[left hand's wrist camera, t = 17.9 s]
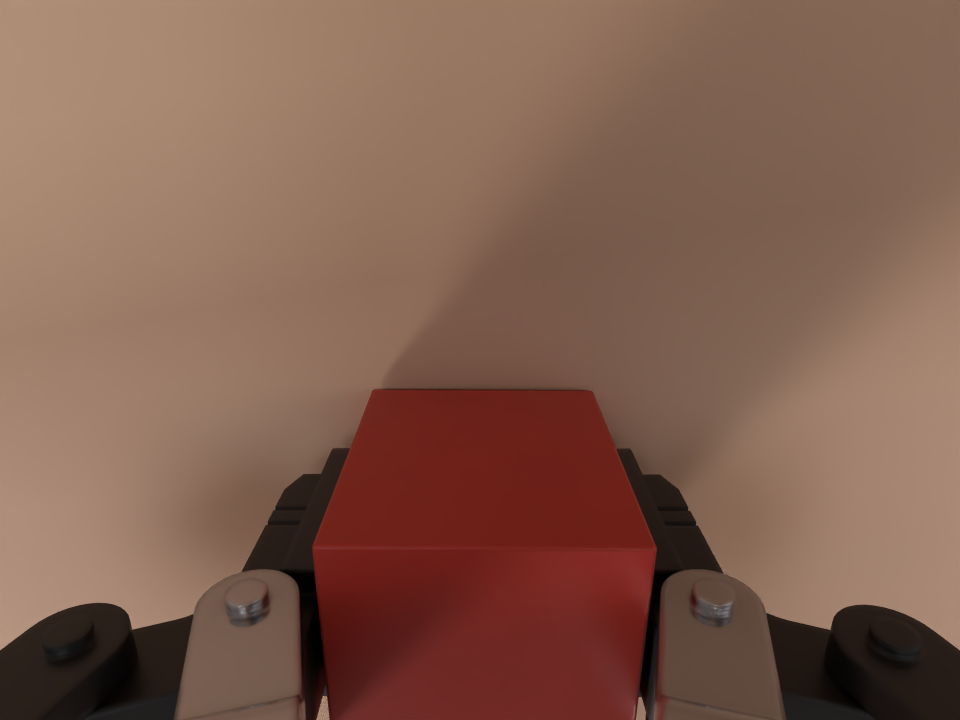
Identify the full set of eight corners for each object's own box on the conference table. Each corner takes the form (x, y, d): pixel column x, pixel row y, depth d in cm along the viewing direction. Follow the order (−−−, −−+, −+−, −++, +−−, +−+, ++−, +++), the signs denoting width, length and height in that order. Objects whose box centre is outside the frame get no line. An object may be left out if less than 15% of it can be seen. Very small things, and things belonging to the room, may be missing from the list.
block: (593, 389, 12) (659, 547, 8) (578, 580, 14) (627, 803, 9) (372, 388, 12) (310, 545, 8) (382, 579, 14) (337, 802, 9)
